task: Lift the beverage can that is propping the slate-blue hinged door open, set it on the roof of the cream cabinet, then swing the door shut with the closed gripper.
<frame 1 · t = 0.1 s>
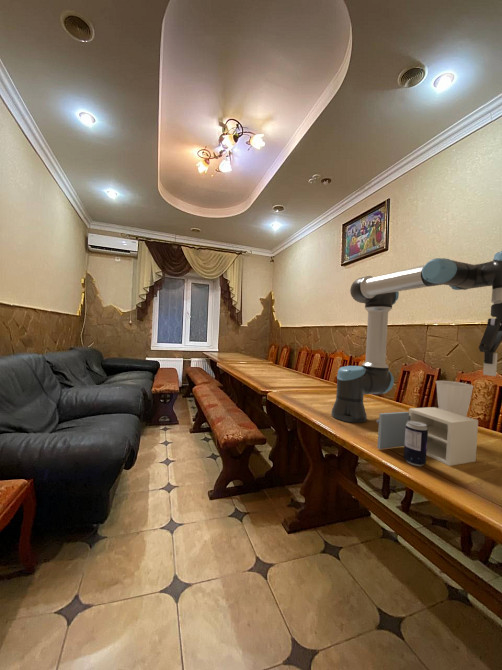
cup: (450, 440, 97), on the table
door: (393, 429, 87), point 6 cm above the table, hinge at 0.0°
cabinet: (439, 453, 85), on the table
beverage can: (414, 463, 77), on the table
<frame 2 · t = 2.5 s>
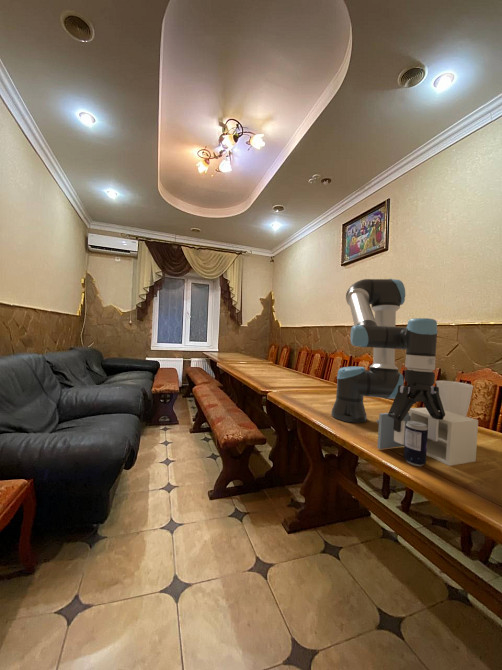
hand: (416, 441, 77), 7 cm above the table, fingers open, 13 cm apart
nothing on the table moved.
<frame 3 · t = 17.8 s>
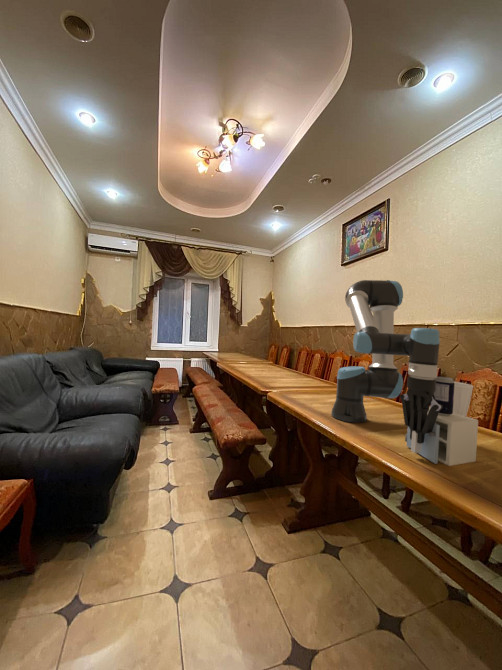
hand: (415, 451, 81), 2 cm above the table, fingers closed
door: (419, 435, 83), point 6 cm above the table, hinge at 76.3°, touching gripper, hand
beverage can: (441, 414, 85), point 13 cm above the table, touching cabinet
everything else where it was.
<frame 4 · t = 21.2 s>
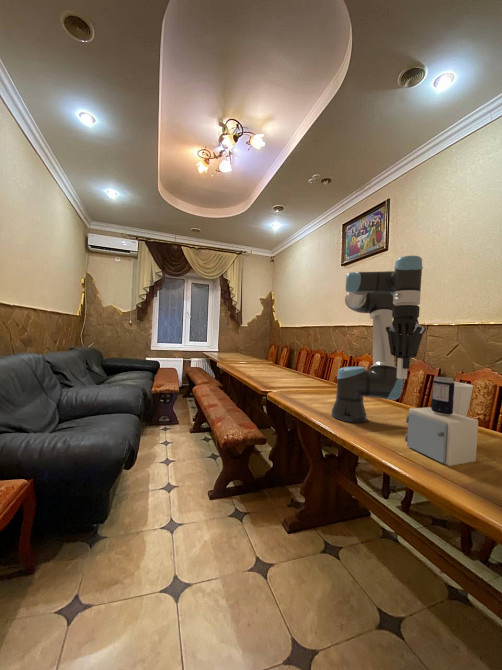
hand: (401, 378, 83), 24 cm above the table, fingers closed
door: (423, 435, 83), point 6 cm above the table, hinge at 89.4°
everything else where it was.
at the end: door at +89° (first picture: +0°); beverage can inside the target area on the cabinet (0.1 cm from its centre), point 12.8 cm above the cabinet's base; beverage can tilted 0° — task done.
